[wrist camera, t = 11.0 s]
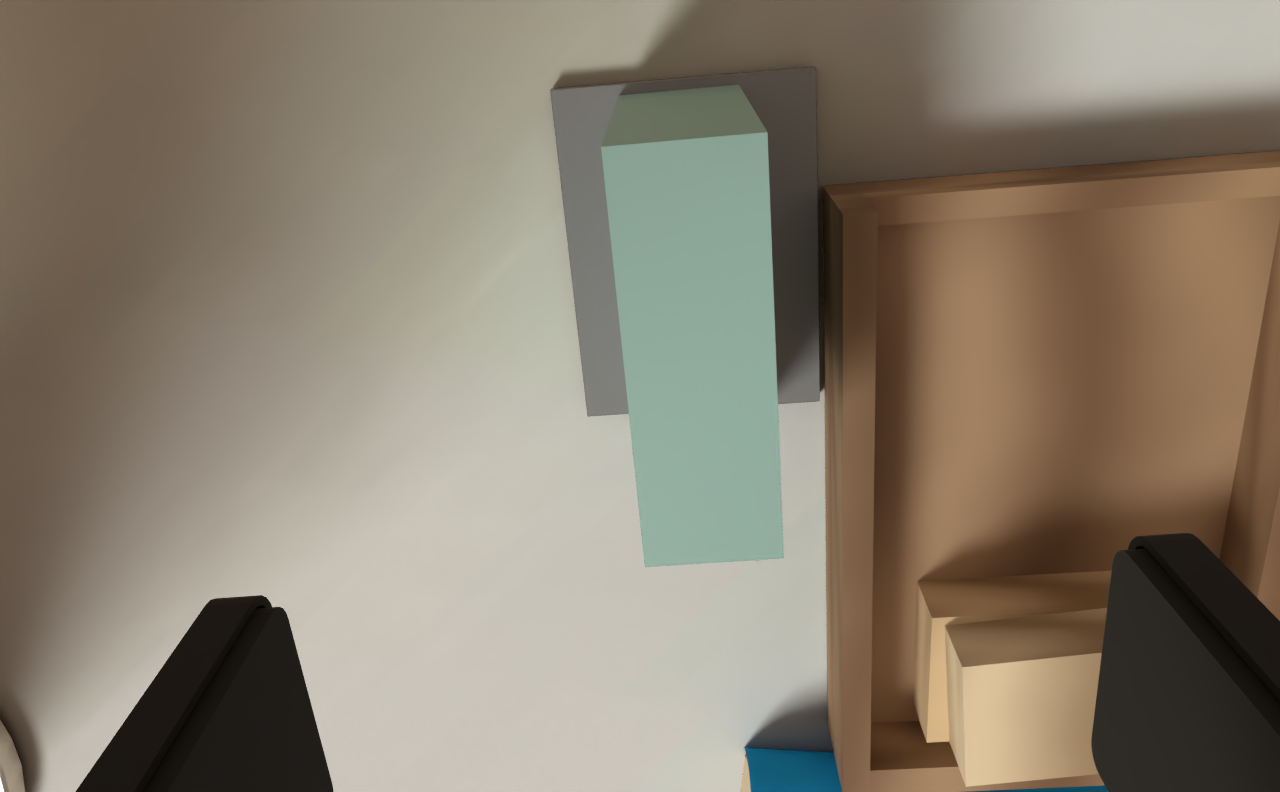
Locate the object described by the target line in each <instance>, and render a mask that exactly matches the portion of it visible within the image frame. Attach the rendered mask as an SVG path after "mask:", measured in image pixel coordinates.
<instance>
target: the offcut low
mask: <svg viewBox="0 0 1280 792" xmlns="http://www.w3.org/2000/svg"><path fill="white" fill-rule="evenodd" d="M1111 573H1112V571H1095V572H1077V573H1059V574H1041V575H1022V576H1004V577H986V578H968V579H950V580H932V581H917V598H916V627H915V656H914V684H913V703H914V706H915V709H916V712H917V715H918V718H919V721H920V724H921V727H922V730H923V733H924V736H925V739H926V742H927V743H929V742H949V727H948V700H947V673H946V646H945V626H946V625H955V624H964V623H973V622H983V621H992V620H1001V619H1010V618H1019V617H1028V616H1037V615H1046V614H1056V613H1065V612H1074V611H1083V610H1092V609H1101V608H1107V606H1108V598H1109V590H1110V581H1111Z"/></svg>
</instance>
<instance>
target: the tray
mask: <svg viewBox="0 0 1280 792" xmlns="http://www.w3.org/2000/svg"><path fill="white" fill-rule="evenodd" d="M823 256H824V370H825V484H826V598H827V711H828V727H829V732H830V737H831V741H832V746H833V751H834V755H835V760H836V765H837V769H838V774H839V779H840V783H841V788H842V792H967V791H989V790H1012V789H1035V788H1057V787H1080V786H1103V785H1104V783H1103V781H1102V779H1101V777H1100V776H1099V774H1094V775H1084V776H1073V777H1063V778H1052V779H1042V780H1032V781H1021V782H1011V783H1000V784H990V785H980V786H969V787H966V786H965V783H964V780H963V778H962V775H961V772H960V769H959V767H958V764H957V761H956V758H955V756H954V753H953V750H952V747H951V745H950V742H929V743H927V742H926V739H925V736H924V733H923V730H922V727H921V724H920V721H919V718H918V715H917V712H916V709H915V706H914V703H913V684H914V656H915V627H916V598H917V581H932V580H950V579H968V578H986V577H1004V576H1022V575H1041V574H1059V573H1077V572H1095V571H1112V565H1113V560H1114V556H1115V555H1116V553H1117V552H1118V551H1120V550H1128V547H1129V544H1130V542H1131V541H1132V539H1133V538H1135V537H1137V536H1146V535H1161V534H1176V533H1191V534H1193V535H1195V536H1196V537H1197V538H1199V539H1200V540H1201V541H1202V542H1203V543H1204V544H1205V545H1206V546H1207V547H1208V548H1209V549H1210V550H1211V551H1212V553H1213V554H1214V555H1215V556H1216V557H1217V558H1218V559H1219V560H1220V561H1221V562H1222V563H1223V564H1224V565H1225V566H1226V567H1227V568H1228V569H1229V570H1230V571H1231V572H1232V573H1233V574H1234V575H1235V576H1236V577H1237V578H1238V579H1239V580H1240V581H1241V582H1242V583H1243V584H1244V585H1245V586H1246V587H1247V588H1248V589H1249V590H1250V591H1251V592H1252V593H1253V594H1254V595H1255V596H1256V597H1257V598H1258V599H1259V600H1260V601H1261V602H1262V603H1263V604H1264V605H1265V606H1266V607H1267V609H1268V610H1269V611H1270V612H1271V613H1272V614H1273V615H1274V616H1275V617H1276V618H1277V619H1278V620H1279V621H1280V151H1268V152H1255V153H1242V154H1229V155H1216V156H1203V157H1190V158H1177V159H1164V160H1151V161H1138V162H1125V163H1112V164H1099V165H1086V166H1073V167H1061V168H1048V169H1035V170H1022V171H1009V172H996V173H983V174H970V175H957V176H944V177H931V178H918V179H905V180H892V181H879V182H866V183H853V184H840V185H827V186H823Z"/></svg>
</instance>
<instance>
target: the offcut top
mask: <svg viewBox="0 0 1280 792" xmlns="http://www.w3.org/2000/svg"><path fill="white" fill-rule="evenodd" d="M1106 614H1107V608H1101V609H1092V610H1083V611H1074V612H1065V613H1056V614H1046V615H1037V616H1028V617H1019V618H1010V619H1001V620H992V621H983V622H973V623H964V624H955V625H946V626H945V646H946V673H947V700H948V727H949V742H950V745H951V747H952V750H953V753H954V756H955V758H956V761H957V764H958V767H959V769H960V772H961V775H962V778H963V780H964V783H965V786H966V787H969V786H980V785H990V784H1000V783H1011V782H1021V781H1032V780H1042V779H1052V778H1063V777H1073V776H1084V775H1094V774H1099V773H1098V771H1097V769H1096V766H1095V763H1094V759H1093V754H1092V746H1091V739H1092V729H1093V721H1094V713H1095V705H1096V696H1097V688H1098V680H1099V672H1100V664H1101V655H1102V647H1103V639H1104V631H1105V622H1106Z"/></svg>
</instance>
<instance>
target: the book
mask: <svg viewBox="0 0 1280 792" xmlns="http://www.w3.org/2000/svg"><path fill="white" fill-rule="evenodd" d="M745 750H746V754H747V755H745V759H744V767H743V776H742V784H741V792H842V788H841V783H840V779H839V774H838V769H837V765H836V760H835V755H834V753H831V752H813V751H796V750H778V749H761V748H745ZM746 758H747V759H746ZM748 767H749V768H748ZM967 792H1108V790H1107V788H1106V786H1105V785H1103V786H1080V787H1057V788H1035V789H1012V790H989V791H967Z"/></svg>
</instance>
